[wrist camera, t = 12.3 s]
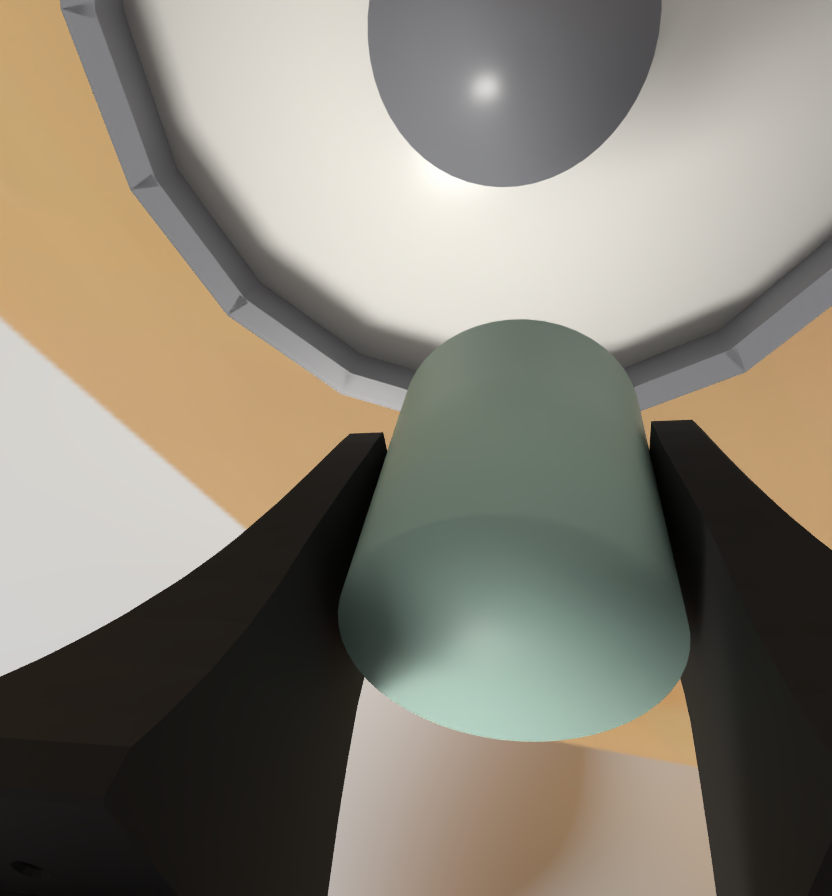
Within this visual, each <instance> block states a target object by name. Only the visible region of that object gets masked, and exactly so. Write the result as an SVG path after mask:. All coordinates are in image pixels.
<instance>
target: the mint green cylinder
mask: <svg viewBox="0 0 832 896" xmlns="http://www.w3.org/2000/svg"><path fill="white" fill-rule="evenodd" d="M338 625H339V630H340V634H341V638H342V641H343V643H344V646H345V648H346V650H347V653H348V655H349V656H350V658H351V659H352V661H353V663H354V664H355V666H356V667H357V668H358V669H359V671H360V672H361V673H362V674H363V675H364V677H365V678H366V679H367V680H368V681H369V682H370V683H371V684H372V685H374V687H376V688H377V689H378V690H379V691H380V692H381V693H383V694H384V695H385V696H387V697H388V698H389V699H391V700H392V701H393V702H395V703H397V704H398V705H400V706H402V707H403V708H405V709H407V710H408V711H410V712H412V713H414V714H416V715H418V716H420V717H422V718H424V719H426V720H429V721H431V722H434V723H436V724H439V725H441V726H444V727H448V728H450V729H454V730H457V731H460V732H464V733H468V734H472V735H476V736H481V737H488V738H493V739H501V740H512V741H531V742H532V741H533V742H540V741H558V740H566V739H574V738H580V737H584V736H589V735H594V734H598V733H601V732H604V731H607V730H610V729H614V728H616V727H618V726H621V725H623V724H625V723H628V722H630V721H632V720H634V719H636V718H637V717H639V716H641V715H643V714H645V713H646V712H647V711H649V710H650V709H652V708H653V707H654V706H656V705H657V704H658V703H660V702H661V701H662V700H663V699H664V698H665V697H666V696H667V695H668V694H669V693H670V692H671V690H672V689H673V688H674V686H675V685H676V684H677V682H678V681H679V679H680V678H681V675H682V673H683V671H684V669H685V667H686V665H687V661H688V657H689V652H690V630H689V625H688V619H687V615H686V610H685V606H684V602H683V597H682V593H681V588H680V584H679V580H678V575H677V571H676V566H675V562H674V558H673V553H672V549H671V544H670V540H669V536H668V531H667V527H666V522H665V518H664V514H663V509H662V505H661V500H660V496H659V491H658V487H657V483H656V478H655V474H654V469H653V465H652V461H651V456H650V452H649V447H648V443H647V439H646V434H645V430H644V425H643V421H642V417H641V412H640V408H639V403H638V399H637V395H636V392H635V389H634V387H633V384H632V382H631V380H630V378H629V377H628V375H627V373H626V371H625V370H624V368H623V367H622V366H621V365H620V363H619V362H618V361H617V360H616V358H615V357H614V356H613V355H612V354H610V353H609V352H608V351H607V350H606V349H605V348H604V347H603V346H601V345H600V344H598V343H597V342H595V341H594V340H593V339H591V338H589V337H588V336H586V335H584V334H582V333H580V332H578V331H576V330H573V329H570V328H568V327H565V326H562V325H559V324H554V323H550V322H546V321H539V320H529V319H511V320H502V321H495V322H490V323H486V324H482V325H479V326H475V327H473V328H470V329H468V330H465V331H463V332H461V333H459V334H457V335H455V336H454V337H452V338H450V339H448V340H447V341H445V342H444V343H443V344H441V345H440V346H439V347H437V348H436V349H435V350H434V351H433V352H432V353H431V354H430V355H429V356H428V357H427V358H426V359H425V360H424V361H423V363H422V364H421V365H420V367H419V368H418V369H417V371H416V373H415V375H414V376H413V378H412V380H411V382H410V385H409V387H408V390H407V393H406V396H405V399H404V402H403V405H402V408H401V411H400V414H399V417H398V421H397V424H396V427H395V430H394V433H393V436H392V439H391V442H390V445H389V448H388V451H387V454H386V457H385V461H384V464H383V467H382V470H381V473H380V476H379V479H378V482H377V485H376V488H375V491H374V494H373V497H372V500H371V504H370V507H369V510H368V513H367V516H366V519H365V522H364V525H363V528H362V531H361V534H360V537H359V540H358V544H357V547H356V550H355V553H354V556H353V559H352V562H351V565H350V568H349V571H348V574H347V577H346V580H345V583H344V587H343V590H342V593H341V596H340V601H339V607H338Z"/></svg>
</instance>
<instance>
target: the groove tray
mask: <svg viewBox="0 0 832 896" xmlns="http://www.w3.org/2000/svg"><path fill="white" fill-rule="evenodd" d="M60 5H61V11H62V13H63V16H64V18H65V21H66V24H67V26H68V29H69V31H70V34H71V37H72V39H73V42H74V44H75V47H76V50H77V52H78V55H79V57H80V60H81V63H82V65H83V68H84V70H85V73H86V76H87V78H88V81H89V83H90V86H91V89H92V91H93V94H94V96H95V99H96V102H97V104H98V107H99V109H100V112H101V115H102V117H103V120H104V122H105V125H106V128H107V130H108V133H109V135H110V138H111V141H112V143H113V146H114V148H115V151H116V154H117V156H118V159H119V161H120V164H121V167H122V169H123V172H124V174H125V177H126V180H127V182H128V185H129V187H130V190H131V191H132V193H133V194H134V195H135V196H136V198H137V199H138V200H139V202H140V203H141V204H142V205H143V207H144V208H145V209H146V211H147V212H148V213H149V215H150V216H151V217H152V218H153V220H154V221H155V222H156V224H157V225H158V226H159V227H160V229H161V230H162V231H163V233H164V234H165V235H166V236H167V238H168V239H169V240H170V242H171V243H172V244H173V246H174V247H175V248H176V249H177V251H178V252H179V253H180V255H181V256H182V257H183V258H184V260H185V261H186V262H187V264H188V265H189V266H190V267H191V269H192V270H193V271H194V273H195V274H196V275H197V277H198V278H199V279H200V280H201V282H202V283H203V284H204V286H205V287H206V288H207V289H208V291H209V292H210V293H211V295H212V296H213V297H214V299H215V300H216V301H217V302H218V304H219V305H220V306H221V308H222V309H223V310H224V311H225V313H226V314H227V315H228V316H229V317H231V318H232V319H233V320H235V321H236V322H238V323H239V324H241V325H242V326H244V327H245V328H246V329H248V330H249V331H251V332H252V333H254V334H255V335H257V336H258V337H259V338H261V339H262V340H264V341H265V342H267V343H268V344H270V345H271V346H272V347H274V348H275V349H277V350H278V351H280V352H281V353H283V354H284V355H285V356H287V357H288V358H290V359H291V360H293V361H294V362H296V363H297V364H298V365H300V366H301V367H303V368H304V369H306V370H307V371H309V372H310V373H311V374H313V375H314V376H316V377H317V378H319V379H320V380H322V381H323V382H324V383H326V384H327V385H329V386H330V387H332V388H333V389H335V390H336V391H337V392H339V393H340V394H343V395H346V396H349V397H353V398H356V399H360V400H363V401H366V402H370V403H373V404H377V405H380V406H384V407H387V408H390V409H394V410H397V411H401V408H402V405H403V402H404V399H405V396H406V393H407V390H408V387H409V385H410V382H411V380H412V378H413V376H414V375H415V373H416V371H417V369H418V368H419V367H420V365H421V364H422V363H423V361H424V360H425V359H426V358H427V357H428V356H429V355H430V354H431V353H432V352H433V351H434V350H435V349H436V348H437V347H439V346H440V345H441V344H443V343H444V342H445V341H447V340H448V339H450V338H452V337H454V336H455V335H457V334H459V333H461V332H463V331H465V330H468V329H470V328H473V327H475V326H479V325H482V324H486V323H490V322H495V321H502V320H511V319H529V320H539V321H546V322H550V323H554V324H559V325H562V326H565V327H568V328H570V329H573V330H576V331H578V332H580V333H582V334H584V335H586V336H588V337H589V338H591V339H593V340H594V341H595V342H597V343H598V344H600V345H601V346H603V347H604V348H605V349H606V350H607V351H608V352H609V353H610V354H612V355H613V356H614V357H615V358H616V360H617V361H618V362H619V363H620V365H621V366H622V367H623V368H624V370H625V371H626V373H627V375H628V377H629V378H630V380H631V382H632V384H633V387H634V389H635V392H636V395H637V399H638V403H639V408H640V411H642V410H645V409H648V408H650V407H653V406H656V405H658V404H661V403H664V402H666V401H669V400H672V399H675V398H677V397H680V396H683V395H685V394H688V393H691V392H693V391H696V390H699V389H701V388H704V387H707V386H710V385H712V384H715V383H718V382H720V381H723V380H726V379H728V378H731V377H734V376H736V375H739V374H742V373H745V372H746V371H748V370H749V369H750V368H752V367H753V366H754V365H755V364H757V363H758V362H759V361H761V360H762V359H763V358H765V357H766V356H767V355H768V354H770V353H771V352H772V351H774V350H775V349H776V348H778V347H779V346H780V345H781V344H783V343H784V342H785V341H787V340H788V339H789V338H791V337H792V336H793V335H794V334H796V333H797V332H798V331H800V330H801V329H802V328H804V327H805V326H806V325H807V324H809V323H810V322H811V321H813V320H814V319H815V318H817V317H818V316H819V315H820V314H822V313H823V312H824V311H826V310H827V309H828V308H830V307H831V306H832V0H60Z"/></svg>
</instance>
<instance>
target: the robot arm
mask: <svg viewBox="0 0 832 896" xmlns="http://www.w3.org/2000/svg"><path fill="white" fill-rule="evenodd" d="M649 452H650V456H651V461H652V465H653V469H654V474H655V478H656V483H657V487H658V491H659V496H660V500H661V505H662V509H663V514H664V518H665V522H666V527H667V531H668V536H669V540H670V544H671V549H672V553H673V558H674V562H675V566H676V571H677V575H678V580H679V584H680V588H681V593H682V597H683V602H684V606H685V610H686V615H687V619H688V625H689V630H690V652H689V657H688V661H687V665H686V667H685V669H684V671H683V673H682V675H681V682H682V686H683V690H684V693H685V698H686V703H687V707H688V712H689V716H690V721H691V727H692V733H693V739H694V745H695V752H696V758H697V764H698V771H699V777H700V783H701V790H702V796H703V803H704V810H705V817H706V823H707V830H708V836H709V844H710V850H711V858H712V865H713V872H714V880H715V886H716V894H717V896H832V550H831V549H830V548H828V547H827V546H826V545H824V544H823V543H822V542H821V541H819V540H818V539H817V538H816V537H814V536H813V535H812V534H811V533H809V532H808V531H807V530H806V529H805V528H803V527H802V526H801V525H800V524H799V523H797V522H796V521H795V520H794V519H793V518H791V517H790V516H789V515H788V514H787V513H786V512H785V511H784V510H782V509H781V508H780V507H779V506H778V505H777V504H776V503H775V502H774V501H773V500H772V499H770V498H769V497H768V496H767V495H766V494H765V493H764V492H763V491H762V490H761V489H760V488H759V487H758V486H757V485H756V484H754V483H753V482H752V481H751V480H750V479H749V478H748V477H747V476H746V475H745V474H744V473H743V472H742V471H741V470H740V469H739V468H738V467H737V466H736V465H735V464H734V463H733V462H732V461H731V460H730V459H729V458H728V457H727V456H726V455H725V453H724V452H723V451H722V450H721V449H720V448H719V447H718V446H717V445H716V444H715V443H714V442H713V441H712V440H711V439H710V438H709V436H708V435H707V434H706V433H705V432H704V431H703V430H702V429H701V428H700V427H699V426H698V425H697V424H696V423H695V422H694V421H693V420H675V421H651V434H650V450H649ZM386 454H387V448H386V444H385V439H384V434H383V432H382V433H358V434H349V435H348V436H347V437H346V438H345V439H344V440H342V441H341V442H340V443H339V444H338V445H337V446H336V447H335V448H334V449H333V450H332V451H331V452H330V453H329V454H328V455H327V456H326V457H325V458H324V459H323V460H322V461H321V462H320V463H319V464H318V465H317V466H316V467H315V468H314V469H313V470H312V471H311V472H310V473H309V474H308V475H306V476H305V477H304V478H303V479H302V480H301V481H300V482H299V483H298V484H297V485H296V486H295V487H294V488H293V489H292V490H291V491H290V492H289V493H288V494H287V495H286V496H284V497H283V498H282V499H281V500H280V501H279V502H278V503H277V504H276V505H275V506H273V507H272V508H271V509H270V510H269V511H268V512H266V513H265V514H264V515H263V516H262V517H261V518H259V519H258V520H257V521H256V522H255V523H254V524H253V525H251V526H250V527H249V528H248V529H247V530H246V531H244V532H243V533H242V534H241V535H240V536H239V537H237V538H236V539H235V540H234V541H232V542H231V543H230V544H229V545H227V546H226V547H225V548H223V549H222V550H221V551H220V552H218V553H217V554H216V555H214V556H213V557H212V558H210V559H209V560H207V561H206V562H205V563H203V564H202V565H201V566H199V567H198V568H196V569H195V570H193V571H192V572H191V573H189V574H188V575H187V576H185V577H183V578H182V579H181V580H179V581H178V582H176V583H174V584H173V585H171V586H170V587H168V588H167V589H165V590H163V591H162V592H160V593H158V594H157V595H155V596H153V597H152V598H150V599H149V600H147V601H146V602H144V603H142V604H141V605H139V606H137V607H136V608H134V609H133V610H131V611H130V612H128V613H126V614H124V615H123V616H121V617H119V618H118V619H116V620H114V621H112V622H110V623H108V624H107V625H105V626H103V627H101V628H99V629H98V630H96V631H94V632H92V633H90V634H88V635H86V636H84V637H83V638H81V639H79V640H77V641H75V642H73V643H71V644H69V645H67V646H65V647H63V648H61V649H59V650H57V651H55V652H53V653H51V654H49V655H47V656H45V657H43V658H41V659H39V660H37V661H34V662H32V663H30V664H28V665H26V666H23V667H21V668H19V669H17V670H15V671H12V672H10V673H8V674H6V675H3V676H1V677H0V896H328V887H329V881H330V873H331V867H332V859H333V852H334V844H335V838H336V830H337V824H338V816H339V811H340V804H341V797H342V791H343V786H344V779H345V773H346V767H347V761H348V755H349V749H350V744H351V738H352V733H353V727H354V722H355V716H356V710H357V705H358V701H359V697H360V693H361V689H362V685H363V680H364V675H363V674H362V673H361V672H360V671H359V669H358V668H357V667H356V666H355V664H354V663H353V661H352V659H351V658H350V656H349V655H348V653H347V650H346V648H345V646H344V643H343V641H342V638H341V634H340V630H339V625H338V607H339V601H340V596H341V593H342V590H343V587H344V583H345V580H346V577H347V574H348V571H349V568H350V565H351V562H352V559H353V556H354V553H355V550H356V547H357V544H358V540H359V537H360V534H361V531H362V528H363V525H364V522H365V519H366V516H367V513H368V510H369V507H370V504H371V500H372V497H373V494H374V491H375V488H376V485H377V482H378V479H379V476H380V473H381V470H382V467H383V464H384V461H385V457H386Z"/></svg>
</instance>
